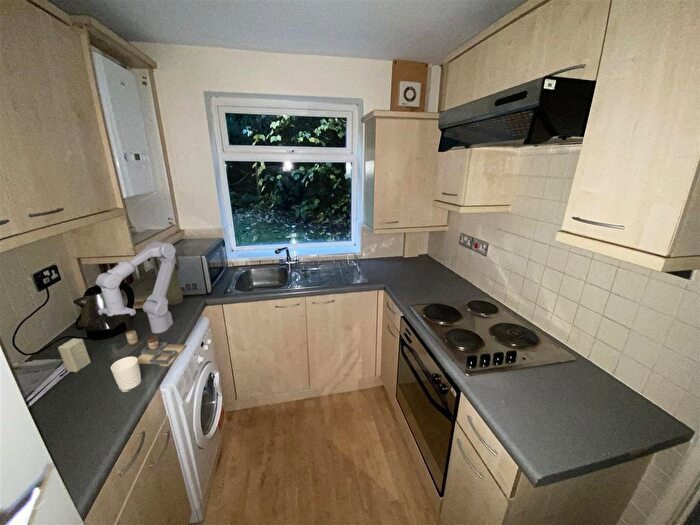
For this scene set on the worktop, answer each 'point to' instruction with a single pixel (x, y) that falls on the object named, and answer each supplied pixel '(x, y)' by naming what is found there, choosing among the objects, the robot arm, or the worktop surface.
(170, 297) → the thermos
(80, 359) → the skincare box
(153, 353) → the socket board
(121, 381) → the white cup
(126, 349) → the pad
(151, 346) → the sleeve band up
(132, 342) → the sleeve band down
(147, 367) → the worktop surface
